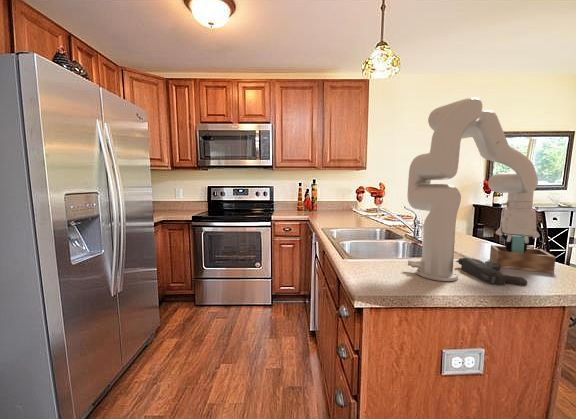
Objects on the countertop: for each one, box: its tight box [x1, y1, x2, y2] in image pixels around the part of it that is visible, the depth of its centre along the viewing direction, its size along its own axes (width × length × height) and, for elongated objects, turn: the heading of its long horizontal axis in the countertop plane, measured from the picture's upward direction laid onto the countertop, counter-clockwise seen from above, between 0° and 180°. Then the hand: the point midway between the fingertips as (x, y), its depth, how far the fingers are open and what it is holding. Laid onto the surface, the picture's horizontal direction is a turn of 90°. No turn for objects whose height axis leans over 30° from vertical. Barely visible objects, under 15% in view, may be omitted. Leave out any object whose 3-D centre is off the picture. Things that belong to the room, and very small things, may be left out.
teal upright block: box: [511, 235, 525, 253], centre depth 105 cm, size 4×9×9 cm, turn 154°
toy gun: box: [455, 257, 528, 287], centre depth 94 cm, size 5×19×15 cm
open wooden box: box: [489, 244, 556, 274], centre depth 105 cm, size 16×12×6 cm
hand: (515, 251), depth 106 cm, fingers closed on teal upright block, 3 cm apart
